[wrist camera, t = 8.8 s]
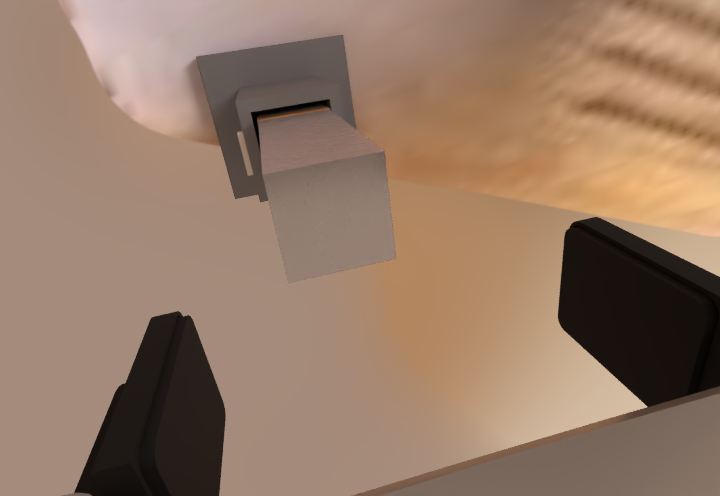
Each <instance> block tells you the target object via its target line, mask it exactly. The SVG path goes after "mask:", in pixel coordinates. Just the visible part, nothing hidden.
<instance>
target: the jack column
mask: <svg viewBox="0 0 720 496" xmlns="http://www.w3.org/2000/svg"><path fill="white" fill-rule="evenodd" d="M257 112H258V118H257V121H258V126H259V138H260V151H261V164H262V175H263V179H264V184H265V188H266V192H267V196H268V200H269V204H270V208H271V212H272V216H273V221H274V225H275V229H276V233H277V237H278V242H279V246H280V250H281V254H282V258H283V262H284V266H285V271H286V275H287V279H288V283H291V282H295V281H300V280H304V279H309V278H313V277H318V276H321V275H326V274H331V273H335V272H339V271H344V270H348V269H352V268H357V267H361V266H366V265H370V264H374V263H379V262H383V261H388V260H392V259H396V252H395V244H394V235H393V225H392V217H391V207H390V198H389V189H388V180H387V171H386V162H385V153H384V151H383V150H382V149H381V148H380V147H378V146H377V145H376V144H374V143H373V142H372V141H370V140H369V139H368V138H366V137H365V136H364V135H363V134H361V133H360V132H359V131H357V130H356V129H355V128H353V127H352V126H351V125H349V124H348V123H347V122H345V121H344V120H343V119H342V118H340V117H339V116H338V115H336V114H335V113H334V112H332V111H331V110H330V109H329V107H328V106H325V105H323V104H322V103H321V102H319V101H314V102H308V103H303V104H297V105H291V106H285V107H279V108H273V109H267V110H261V111H257Z"/></svg>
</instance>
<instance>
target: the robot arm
mask: <svg viewBox="0 0 720 496" xmlns="http://www.w3.org/2000/svg"><path fill="white" fill-rule="evenodd" d="M558 319H559V323H560V325H561V327H562V328H563V329H564V331H566V332H567V333H568V334H569V335H570V336H571V337H572V338H573V339H574V340H575V341H576V342H578V343H579V344H580V345H581V346H582V347H583V348H584V349H585V350H586V351H587V352H589V353H590V354H591V355H592V356H593V357H594V358H595V359H596V360H597V361H598V362H599V363H601V364H602V365H603V366H604V367H605V368H606V369H607V370H608V371H609V372H610V373H611V374H613V375H614V376H615V377H616V378H617V379H618V380H619V381H620V382H621V383H622V384H624V385H625V386H626V387H627V388H628V389H629V390H630V391H631V392H632V393H633V394H634V395H636V396H637V397H638V398H639V399H640V400H641V401H642V402H643V403H644V404H645V405H646V406H648V407H647V408H644V409H640V410H637V411H633V412H630V413H627V414H623V415H620V416H616V417H613V418H609V419H606V420H603V421H599V422H596V423H592V424H589V425H586V426H582V427H579V428H576V429H573V430H569V431H565V432H562V433H559V434H555V435H552V436H549V437H545V438H542V439H538V440H535V441H532V442H529V443H525V444H522V445H518V446H515V447H512V448H508V449H505V450H502V451H498V452H495V453H492V454H488V455H485V456H482V457H478V458H475V459H472V460H468V461H465V462H461V463H458V464H455V465H451V466H448V467H445V468H442V469H438V470H435V471H432V472H428V473H425V474H422V475H419V476H415V477H412V478H409V479H405V480H402V481H399V482H396V483H392V484H389V485H386V486H382V487H379V488H376V489H372V490H369V491H366V492H363V493H359V494H356V495H353V496H720V277H719V276H716V275H714V274H712V273H710V272H708V271H706V270H704V269H702V268H700V267H698V266H696V265H694V264H692V263H690V262H688V261H686V260H684V259H682V258H680V257H678V256H676V255H674V254H672V253H670V252H668V251H666V250H664V249H662V248H660V247H658V246H656V245H654V244H652V243H649V242H647V241H646V240H643V239H641V238H639V237H637V236H635V235H633V234H631V233H629V232H627V231H625V230H623V229H621V228H619V227H617V226H615V225H613V224H611V223H609V222H607V221H605V220H602V219H601V218H598V217H594V218H589V219H585V220H580V221H576V222H573V223H572V224H571V226H570V228H569V229H568V230H567V231H566V233H565V238H564V250H563V262H562V274H561V285H560V297H559V309H558ZM224 428H225V408H224V404H223V400H222V397H221V395H220V392H219V390H218V387H217V384H216V381H215V379H214V376H213V373H212V371H211V368H210V365H209V363H208V360H207V357H206V355H205V352H204V349H203V347H202V344H201V341H200V339H199V336H198V333H197V330H196V328H195V325H194V322H193V320H192V318H191V316H189V315H188V316H184V317H183V316H182V314H181V313H180V312H179V311H177V312H173V313H169V314H164V315H160V316H155V317H152V318H151V320H150V322H149V325H148V327H147V330H146V332H145V335H144V338H143V340H142V343H141V345H140V348H139V350H138V353H137V355H136V358H135V361H134V363H133V366H132V369H131V371H130V373H129V376H128V379H127V381H126V383H125V384H122V385H121V386H119V387H118V389H117V390H116V392H115V394H114V397H113V399H112V402H111V404H110V407H109V409H108V411H107V414H106V416H105V419H104V421H103V424H102V426H101V429H100V431H99V434H98V436H97V439H96V441H95V444H94V446H93V448H92V451H91V453H90V456H89V458H88V461H87V463H86V466H85V468H84V470H83V473H82V475H81V478H80V480H79V483H78V485H77V487H76V490H75V492H74V493H73V494H68V495H64V496H219V490H220V478H221V466H222V454H223V442H224V430H225V429H224Z"/></svg>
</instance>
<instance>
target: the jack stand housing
mask: <svg viewBox="0 0 720 496" xmlns="http://www.w3.org/2000/svg"><path fill="white" fill-rule="evenodd" d="M196 59H197V62H198V66H199V70H200V73H201V77H202V80H203V84H204V88H205V91H206V95H207V99H208V102H209V106H210V109H211V113H212V117H213V120H214V124H215V127H216V131H217V135H218V138H219V142H220V146H221V149H222V153H223V156H224V160H225V163H226V167H227V171H228V174H229V178H230V182H231V185H232V188H233V193H234V196H235V199H237V198H242V197H247V196H252V195H257V194H258V195H259V199H260V202H263V201H268V196H267V192H266V188H265V184H264V179H263V175H262V164H261V151H260V138H259V126H258V121H257V118H258V112H257V111H261V110H267V109H273V108H279V107H285V106H291V105H297V104H303V103H308V102H314V101H319V102H321V103H322V104H323V105H325V106H328V107H329V109H330V110H331V111H332V112H334V113H335V114H336V115H338V116H339V117H340V118H342V119H343V120H344V121H345V122H347V123H348V124H349V125H351V126H352V127H353V128H355V129H356V127H355V119H354V112H353V105H352V97H351V90H350V83H349V75H348V68H347V61H346V53H345V46H344V39H343V35H339V36H332V37H326V38H319V39H312V40H306V41H299V42H292V43H285V44H279V45H272V46H265V47H259V48H252V49H245V50H239V51H232V52H225V53H218V54H212V55H205V56H198V57H196Z"/></svg>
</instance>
